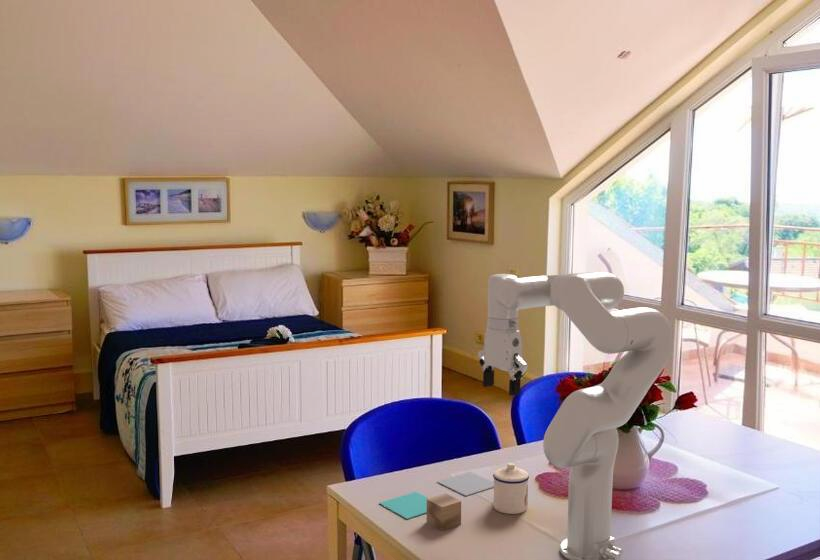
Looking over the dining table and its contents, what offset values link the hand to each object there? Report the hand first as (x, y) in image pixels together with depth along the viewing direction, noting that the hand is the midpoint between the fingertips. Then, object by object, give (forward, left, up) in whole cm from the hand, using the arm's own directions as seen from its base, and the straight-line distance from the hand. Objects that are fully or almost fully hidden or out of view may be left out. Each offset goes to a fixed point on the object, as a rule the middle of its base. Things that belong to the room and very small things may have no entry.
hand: (501, 390), depth 211 cm
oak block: (0, +18, -31) cm, 36 cm away
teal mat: (+13, +18, -31) cm, 38 cm away
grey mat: (+15, -3, -31) cm, 34 cm away
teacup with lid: (-2, -2, -31) cm, 31 cm away
